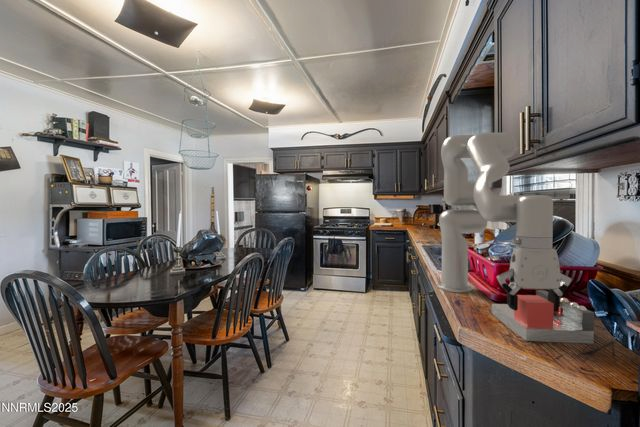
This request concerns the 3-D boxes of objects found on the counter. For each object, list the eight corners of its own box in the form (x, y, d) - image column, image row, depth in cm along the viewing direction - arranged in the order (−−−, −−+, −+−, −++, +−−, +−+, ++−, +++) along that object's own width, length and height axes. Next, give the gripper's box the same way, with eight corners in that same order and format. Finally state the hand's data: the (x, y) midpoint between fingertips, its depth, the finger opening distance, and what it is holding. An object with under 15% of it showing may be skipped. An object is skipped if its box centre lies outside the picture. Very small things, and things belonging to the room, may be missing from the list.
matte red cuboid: (513, 316, 79) (514, 294, 78) (537, 317, 78) (538, 295, 78) (527, 326, 73) (527, 302, 72) (553, 327, 72) (553, 303, 72)
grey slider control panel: (491, 313, 89) (491, 286, 89) (544, 315, 88) (544, 287, 87) (526, 340, 71) (526, 307, 71) (593, 343, 70) (594, 308, 69)
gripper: (505, 245, 72) (504, 313, 72) (582, 245, 70) (580, 315, 70) (491, 241, 79) (490, 303, 80) (560, 241, 77) (558, 305, 78)
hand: (532, 309), depth 75 cm, fingers open, 9 cm apart
